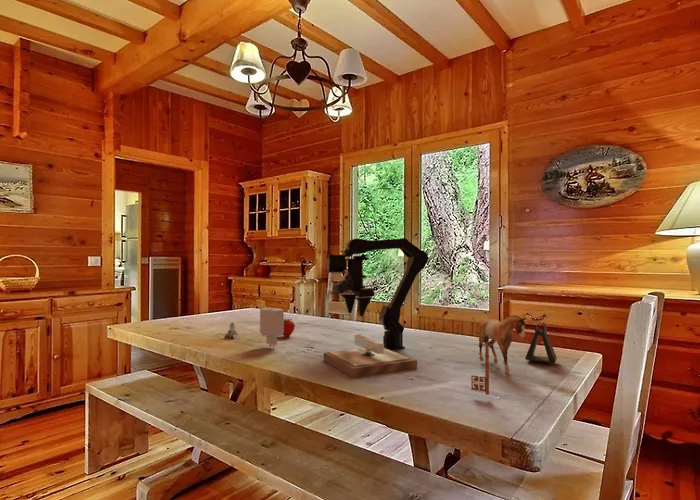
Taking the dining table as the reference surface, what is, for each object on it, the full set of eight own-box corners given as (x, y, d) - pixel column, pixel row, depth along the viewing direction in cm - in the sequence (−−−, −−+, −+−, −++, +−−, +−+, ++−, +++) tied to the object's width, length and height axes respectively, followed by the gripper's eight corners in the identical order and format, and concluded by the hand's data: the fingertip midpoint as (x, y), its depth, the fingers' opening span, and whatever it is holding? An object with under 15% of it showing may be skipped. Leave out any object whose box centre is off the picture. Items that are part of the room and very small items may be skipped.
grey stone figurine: (253, 340, 173) (253, 321, 173) (235, 343, 166) (235, 324, 166) (240, 337, 178) (240, 319, 178) (222, 340, 172) (222, 322, 172)
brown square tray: (380, 353, 147) (380, 344, 147) (417, 368, 127) (416, 358, 127) (323, 360, 137) (323, 350, 137) (353, 377, 117) (353, 366, 117)
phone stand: (557, 359, 138) (556, 323, 138) (555, 363, 132) (554, 325, 133) (527, 355, 142) (527, 321, 143) (525, 359, 137) (524, 323, 137)
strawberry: (288, 340, 169) (288, 316, 170) (275, 338, 173) (275, 315, 173) (298, 338, 174) (298, 314, 175) (284, 336, 178) (284, 313, 178)
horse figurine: (528, 378, 116) (528, 316, 116) (506, 379, 115) (505, 317, 116) (489, 356, 142) (489, 306, 142) (471, 356, 141) (470, 306, 142)
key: (471, 392, 104) (470, 332, 104) (471, 391, 105) (471, 332, 105) (495, 396, 101) (494, 334, 102) (495, 394, 102) (495, 334, 102)
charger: (275, 352, 149) (275, 310, 149) (258, 348, 155) (258, 308, 155) (285, 349, 153) (284, 309, 153) (268, 346, 158) (268, 307, 159)
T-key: (354, 348, 139) (354, 335, 139) (359, 348, 140) (359, 334, 140) (378, 359, 124) (378, 344, 124) (383, 358, 125) (383, 343, 125)
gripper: (325, 272, 158) (325, 312, 158) (346, 273, 142) (347, 319, 142) (351, 271, 163) (351, 311, 163) (374, 273, 147) (375, 317, 146)
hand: (355, 314), depth 153 cm, fingers open, 9 cm apart
